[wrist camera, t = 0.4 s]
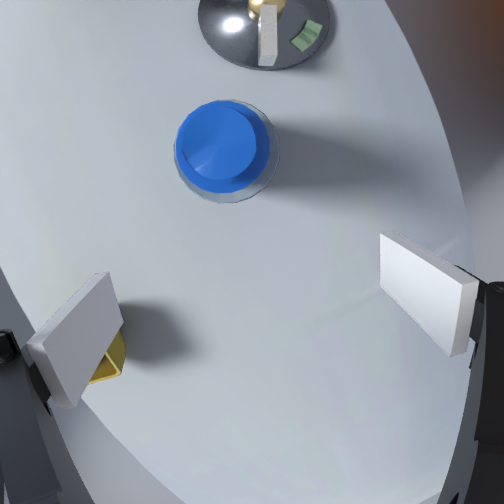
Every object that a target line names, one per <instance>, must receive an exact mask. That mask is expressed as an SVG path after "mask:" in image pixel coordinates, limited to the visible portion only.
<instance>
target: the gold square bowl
mask: <svg viewBox="0 0 504 504" xmlns="http://www.w3.org/2000/svg"><path fill="white" fill-rule="evenodd" d="M125 355H126V346H125V342H124V339H123V337H122V334H121V332H120V331H118V332H117V334H116V336H115V337H114V339H113V341H112V342H111V344H110V346H109V348H108V349H107V351H106V353H105V354H104V356H103V358H102V360H101V361H100V363H99V365H98V367H97V368H96V370H95V372H94V374H93V375H92V377H91V379H90V381H89V383H88V384H87V385H89V384H92V383H95V382H98V381H102V380H105V379H109V378H113V377H116V376H119V375H121V372H122V368H123V364H124V360H125Z"/></svg>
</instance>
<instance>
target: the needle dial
mask: <svg viewBox="0 0 504 504" xmlns="http://www.w3.org/2000/svg"><path fill="white" fill-rule="evenodd" d="M286 1H287V0H248V14H249V16H250V17H251V18H252V19H253V20H254V21H256V22H258V66H273V65H274V63H275V60H276V58H277V21H278V20H279V19H280V17H281V15H282V13H283V10H284V7H285V4H286Z"/></svg>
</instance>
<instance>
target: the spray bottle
mask: <svg viewBox="0 0 504 504" xmlns="http://www.w3.org/2000/svg"><path fill="white" fill-rule="evenodd" d="M279 159H280V146H279V140H278V137H277V134H276V131H275V128H274V126H273V125H272V123H271V122H270V121H269V119H268V118H267V117H266V115H265V114H264V113H262V112H261V111H259V110H258V109H257V108H255V107H254V106H252V105H251V104H248V103H244V102H241V101H237V100H216V101H213V102H210V103H208V104H205V105H202V106H200V107H199V108H197V109H196V110H195V111H193V112H192V113H191V114H189V115H188V116H187V118H186V119H185V121H184V122H183V123H182V125H181V126H180V128H179V129H178V132H177V136H176V139H175V142H174V163H175V166H176V169H177V171H178V174H179V177H180V178H181V179H182V181H183V182H184V183H185V185H186V186H187V187H188V188H189V190H191V191H192V192H194V193H195V194H197V195H198V196H200V197H201V198H203V199H205V200H209V201H212V202H216V203H237V202H240V201H243V200H246V199H249V198H252V197H253V196H254V195H256V194H257V193H258V192H260V191H261V190H262V189H264V188H265V187H266V185H267V184H268V183H269V181H270V180H271V179H272V177H273V176H274V174H275V171H276V168H277V165H278V162H279Z"/></svg>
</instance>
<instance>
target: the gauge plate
mask: <svg viewBox="0 0 504 504" xmlns="http://www.w3.org/2000/svg"><path fill="white" fill-rule="evenodd" d="M198 21H199V25H200V29H201V32H202V34H203V36H204V38H205V40H206V42H207V43H208V44H209V46H210V47H211V48H212V49H213V50H214V51H215V52H216V53H217V54H218V55H220V56H221V57H223V58H224V59H226V60H228V61H230V62H231V63H233V64H236V65H239V66H241V67H245V68H249V69H255V70H267V71H268V70H279V69H285V68H288V67H292V66H294V65H297V64H299V63H301V62H303V61H304V60H306V59H308V58H309V57H310V56H311V55H313V54H314V53H315V52H316V51H317V50H318V48H319V47H320V46H321V44H322V43H323V41H324V40H325V38H326V36H327V33H328V29H329V23H330V18H329V11H328V7H327V4H326V2H325V0H287V1H286V4H285V7H284V10H283V13H282V15H281V17H280V19H279V20H278V21H277V58H276V60H275V63H274V65H273V66H258V22H256V21H254V20H253V19H252V18H251V17H250V16H249V14H248V0H200V4H199V8H198Z"/></svg>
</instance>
